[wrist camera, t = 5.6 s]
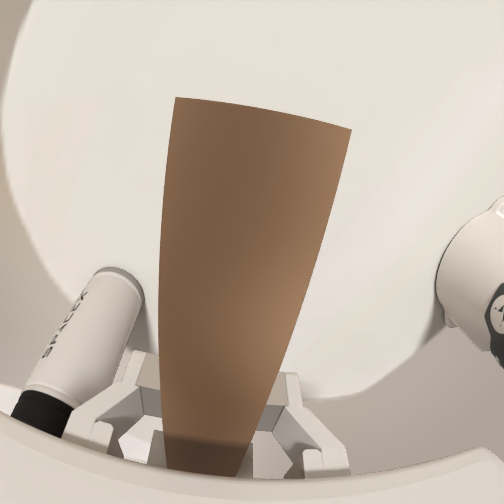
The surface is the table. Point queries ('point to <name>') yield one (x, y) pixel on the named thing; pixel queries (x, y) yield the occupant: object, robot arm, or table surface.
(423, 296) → the table surface
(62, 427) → the travel mug
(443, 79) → the table surface
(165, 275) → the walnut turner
